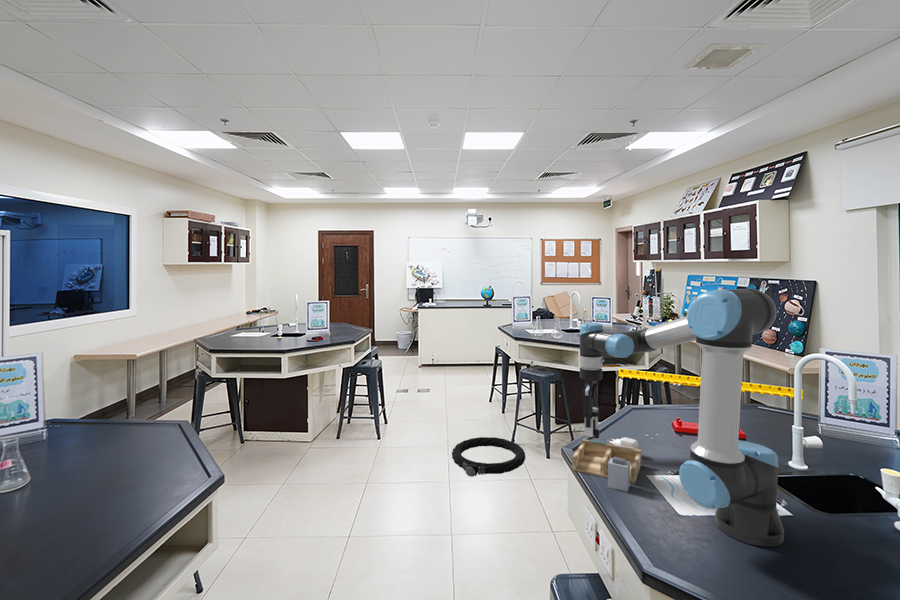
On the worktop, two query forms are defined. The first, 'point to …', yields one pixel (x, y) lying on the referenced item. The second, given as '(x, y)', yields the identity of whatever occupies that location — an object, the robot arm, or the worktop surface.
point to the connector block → (619, 474)
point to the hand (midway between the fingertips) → (590, 433)
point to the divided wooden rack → (604, 458)
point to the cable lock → (485, 468)
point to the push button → (595, 423)
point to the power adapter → (625, 442)
